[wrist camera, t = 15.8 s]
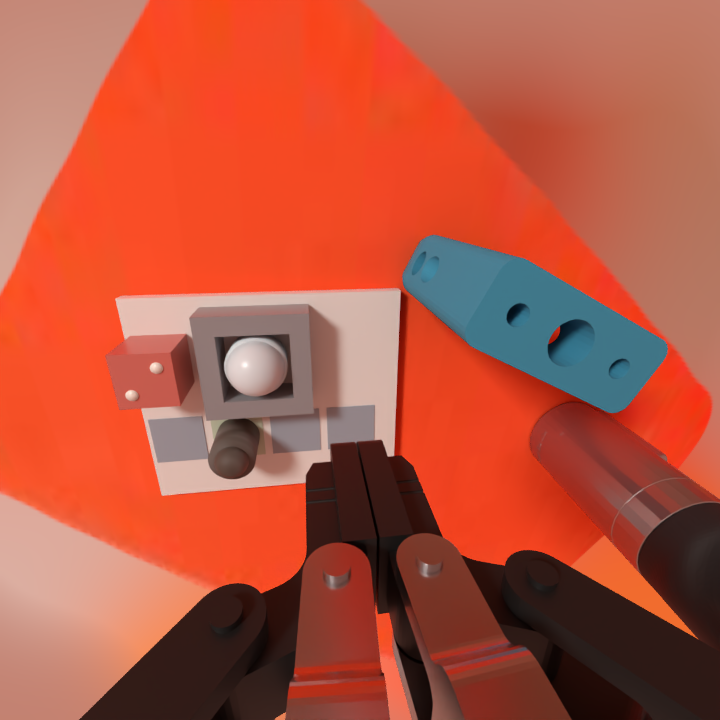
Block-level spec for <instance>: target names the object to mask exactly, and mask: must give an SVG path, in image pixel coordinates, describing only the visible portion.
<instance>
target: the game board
mask: <svg viewBox="0 0 720 720" xmlns="http://www.w3.org/2000/svg"><path fill="white" fill-rule="evenodd" d="M400 296H401V290H399V289H398V288H385V289H349V290H313V291H278V292H242V293H207V294H171V295H135V296H120V297H118V298H116V299H115V300H116V304H117V308H118V312H119V316H120V321H121V325H122V329H123V333H124V338H125V340H126V339H127V338H128V337H129V336H142V335H167V334H187V340H188V345H189V351H190V357H191V363H192V369H193V374H194V380H195V382H194V384H193V386H192V387H191V389H190V391H189V393H188V394H187V396H186V398H185V399H184V401H183V403H182V405H181V406H174V407H158V408H142V414H143V418H144V422H145V426H146V430H147V435H148V439H149V443H150V447H151V451H152V456H153V460H154V464H155V468H156V473H157V477H158V481H159V485H160V489H161V494H162V496H163V495H174V494H185V493H196V492H208V491H219V490H230V489H241V488H252V487H263V486H275V485H286V484H297V483H306V474H307V472H308V471H309V469H310V467H311V466H312V464H313V463H318V462H330V461H331V460H330V444H332V443H344V442H355V443H357V441H369V440H382V441H383V444H384V447H385V450H386V453H387V456H388V457H389V456H394V445H395V420H396V395H397V370H398V345H399V321H400ZM284 304H308V309H309V328H310V348H311V368H312V388H313V409H314V414H301V415H286V416H271V417H256V418H246V419H248V420H250V421H252V422H253V423H254V424H255V425H256V426H257V427H258V429H259V432H260V440H259V445H258V451H257V457H256V462H255V466H254V468H253V470H252V471H251V472H250V473H249V474H248V475H246V476H245V477H243V478H239V479H225V478H222V477H219V476H218V475H216V474H215V473H214V472H213V471H212V470H211V469H210V467H209V464H208V456H209V453H210V450H211V447H212V445H213V442H214V439H215V436H216V433H217V431H218V428H219V427H220V425H221V424H222V423H223V422H224V421H226V420H212V421H206V415H205V409H204V403H203V397H202V392H201V386H200V380H199V374H198V368H197V362H196V356H195V350H194V344H193V338H192V332H191V326H190V320H189V317H190V316H191V315H192V314H193V313H194V312H195V311H196V310H197V309H198V308H199V307H222V306H253V305H284ZM272 336H274V337H275V338H277V339H278V340H279V341H280V342H281V343H282V344H283V346H284V347H285V349H286V351H287V355H288V367H287V374H286V378H285V380H284V381H283V383H293V380H292V366H291V351H290V337H289V334H276V335H272ZM239 337H240V336H228V337H223V338H224V345H225V353H226V355H227V353H228V351H229V349H230V347H231V345H232V344H233V342H234V341H235V340H236V339H237V338H239ZM230 386H232V385H231V383H230ZM227 420H228V419H227Z"/></svg>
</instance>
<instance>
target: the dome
mask: <svg viewBox="0 0 720 720" xmlns="http://www.w3.org/2000/svg"><path fill="white" fill-rule="evenodd" d="M287 367H288V355H287V351H286V349H285V347H284V346H283V344H282V343H281V342H280V341H279V340H278V339H277V338H275V337H274V336H272V335H252V336H240V337H239V338H237V339H236V340H235V341H234V342H233V344H232V345H231V347H230V349H229V351H228V353H227V355H226V358H225V362H224V370H225V374H226V377H227V379H228V380H229V382H230V383H231V385H232V386H233V387H234V388H235V389H236V390H237V391H239V392H240V393H242V394H245V395H248V396H263V395H266V394H269V393H271V392H273V391H274V390H276V389H277V388H278V387H279V386H280V385H281V384H282V383H283V381H284V380H285V378H286V374H287Z"/></svg>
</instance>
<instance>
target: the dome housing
mask: <svg viewBox="0 0 720 720" xmlns="http://www.w3.org/2000/svg"><path fill="white" fill-rule="evenodd" d="M189 320H190V326H191V332H192V338H193V344H194V350H195V356H196V362H197V368H198V374H199V380H200V386H201V392H202V397H203V403H204V409H205V415H206V421H212V420H227V419H241V418H256V417H271V416H286V415H301V414H314V409H313V388H312V368H311V348H310V328H309V309H308V304H284V305H253V306H222V307H199V308H198V309H197V310H196V311H195V312H194V313H193V314H192V315H191V316H190V317H189ZM276 334H289V337H290V351H291V366H292V380H293V383H282V384H281V385H280V386H279V387H278V388H277V389H276V390H274V391H273V392H271V393H269V394H266V395H263V396H248V395H245V394H242V393H240V392H239V391H237V390H236V389H235V388H234V387H233V386H230V382H229V380H228V379H227V377H226V374H225V370H224V362H225V358H226V353H225V345H224V338H223V337H228V336H252V335H276Z"/></svg>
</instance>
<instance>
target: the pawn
mask: <svg viewBox="0 0 720 720" xmlns="http://www.w3.org/2000/svg"><path fill="white" fill-rule="evenodd" d="M259 440H260V432H259V429H258V427H257V426H256V425H255V424H254V423H253V422H252V421H250V420H248V419H246V418H241V419H228V420H226V421H224V422H223V423H222V424H221V425H220V427H219V428H218V431H217V433H216V436H215V439H214V442H213V445H212V447H211V450H210V453H209V456H208V464H209V467H210V469H211V470H212V471H213V472H214V473H215V474H216V475H218V476H219V477H222V478H225V479H239V478H243V477H245V476H246V475H248V474H249V473H250V472H251V471H252V470H253V468H254V466H255V462H256V457H257V451H258V445H259Z"/></svg>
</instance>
